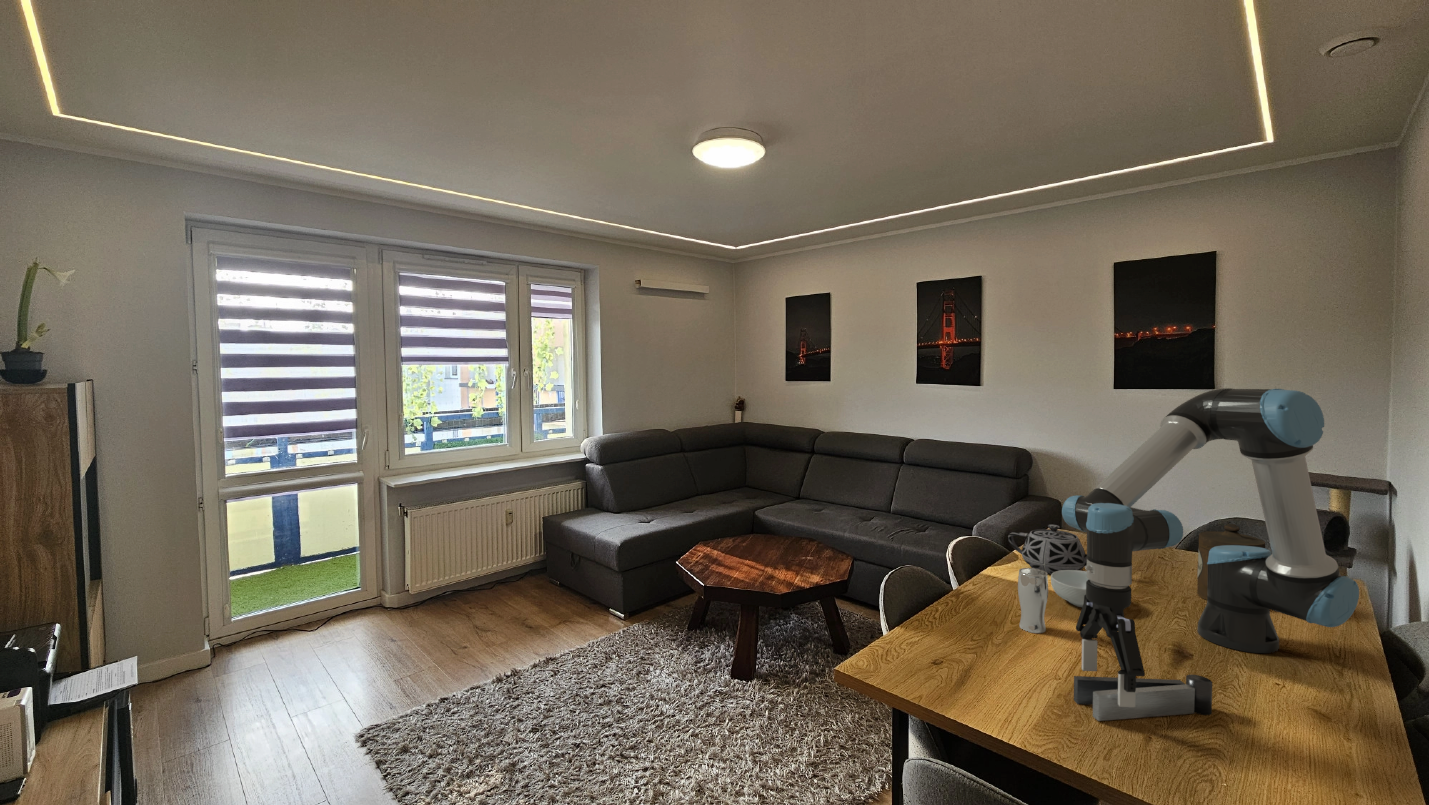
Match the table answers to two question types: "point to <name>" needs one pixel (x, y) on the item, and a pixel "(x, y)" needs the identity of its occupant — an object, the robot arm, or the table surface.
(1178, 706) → the bar
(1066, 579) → the cereal bowl
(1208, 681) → the blade
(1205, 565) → the brown lidded jar
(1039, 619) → the beer glass
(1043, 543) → the teapot
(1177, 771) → the table surface
